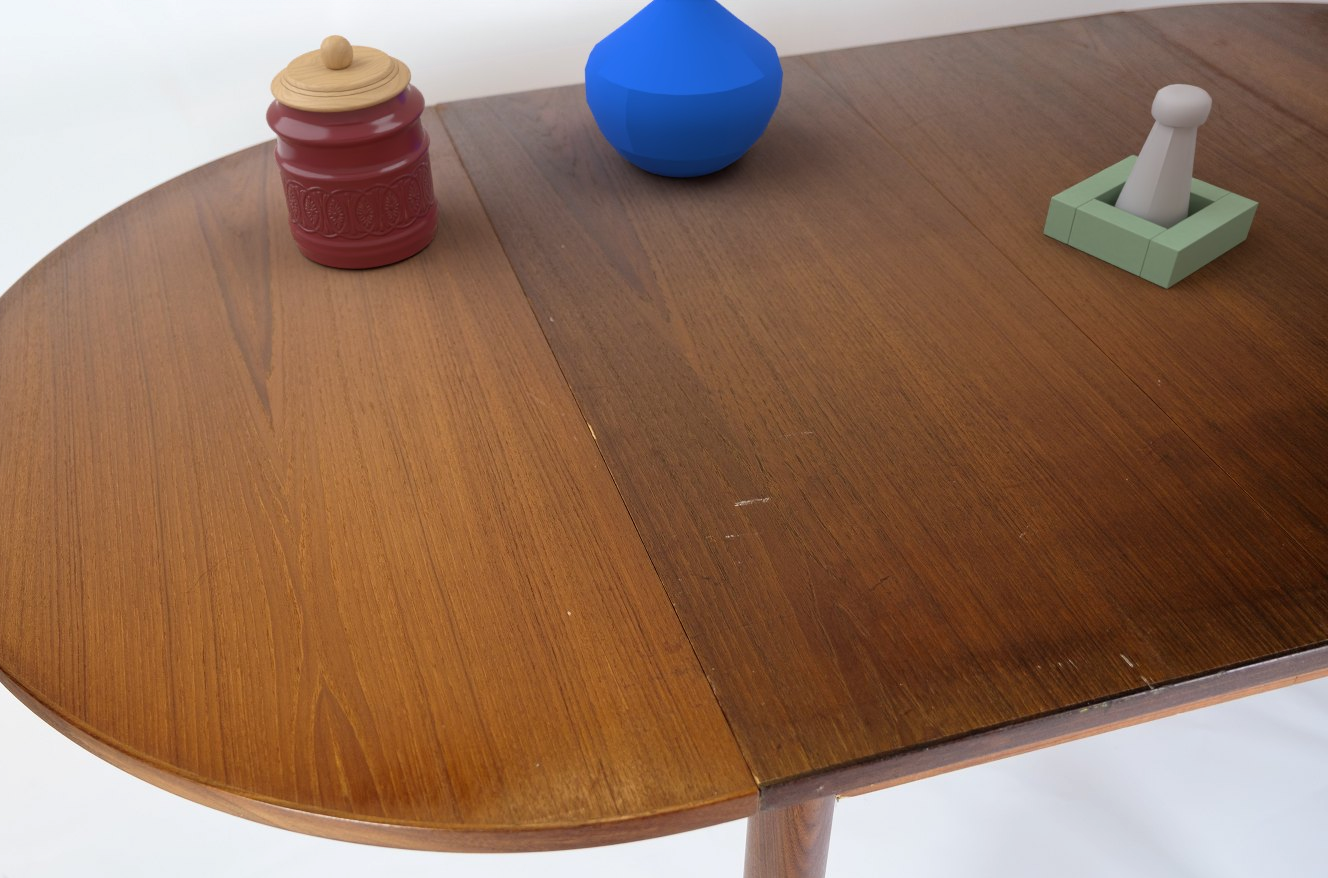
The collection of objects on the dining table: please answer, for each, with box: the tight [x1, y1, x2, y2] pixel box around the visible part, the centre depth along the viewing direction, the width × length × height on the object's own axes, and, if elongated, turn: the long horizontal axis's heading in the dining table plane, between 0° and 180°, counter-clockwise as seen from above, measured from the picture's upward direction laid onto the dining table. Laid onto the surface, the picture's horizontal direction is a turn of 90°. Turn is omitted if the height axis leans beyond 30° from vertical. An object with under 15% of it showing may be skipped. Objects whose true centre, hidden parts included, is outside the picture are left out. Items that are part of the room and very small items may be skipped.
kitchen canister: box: [265, 34, 440, 270], centre depth 104 cm, size 13×13×18 cm
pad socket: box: [1042, 154, 1259, 290], centre depth 105 cm, size 12×12×4 cm
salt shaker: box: [1114, 83, 1213, 230], centre depth 102 cm, size 6×6×13 cm
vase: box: [584, 0, 784, 178], centre depth 114 cm, size 18×18×19 cm
